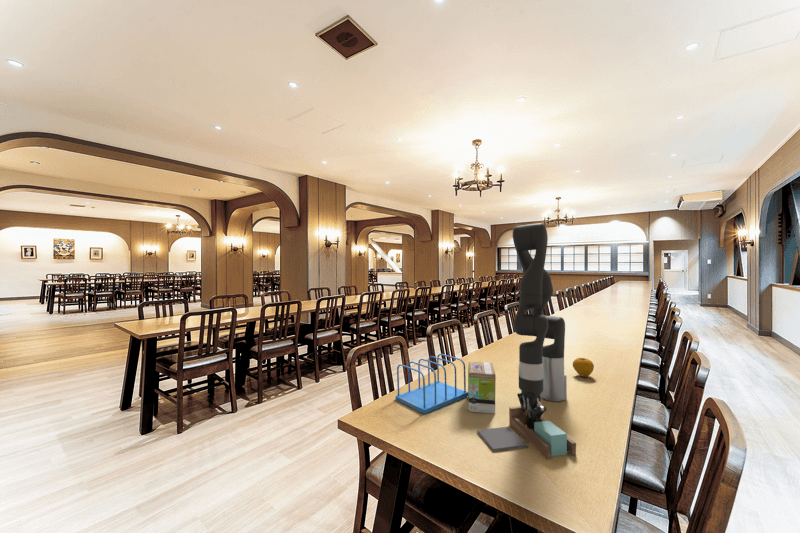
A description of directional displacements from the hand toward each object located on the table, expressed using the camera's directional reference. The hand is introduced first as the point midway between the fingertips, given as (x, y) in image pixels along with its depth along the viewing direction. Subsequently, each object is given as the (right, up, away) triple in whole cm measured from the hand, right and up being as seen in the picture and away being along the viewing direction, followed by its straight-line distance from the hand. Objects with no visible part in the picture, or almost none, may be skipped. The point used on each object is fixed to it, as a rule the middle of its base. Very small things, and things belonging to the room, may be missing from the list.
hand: (531, 428), depth 106 cm
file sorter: (-30, -2, +27) cm, 40 cm away
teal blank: (+2, -1, -9) cm, 9 cm away
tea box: (-11, -1, +21) cm, 24 cm away
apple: (+46, -1, +51) cm, 69 cm away
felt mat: (-11, -1, -5) cm, 12 cm away
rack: (+1, -1, -4) cm, 5 cm away
